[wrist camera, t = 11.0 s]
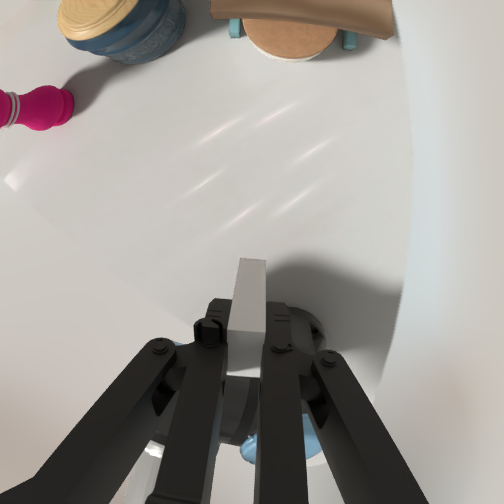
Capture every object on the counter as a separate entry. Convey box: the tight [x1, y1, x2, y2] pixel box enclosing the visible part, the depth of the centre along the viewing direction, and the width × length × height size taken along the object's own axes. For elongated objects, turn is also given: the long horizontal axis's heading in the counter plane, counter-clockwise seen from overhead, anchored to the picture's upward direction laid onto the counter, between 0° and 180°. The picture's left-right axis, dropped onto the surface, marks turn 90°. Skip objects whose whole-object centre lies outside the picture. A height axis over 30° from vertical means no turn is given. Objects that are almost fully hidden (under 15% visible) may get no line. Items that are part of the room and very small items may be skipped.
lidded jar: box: [242, 19, 338, 63], centre depth 26 cm, size 11×11×9 cm
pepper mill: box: [0, 85, 74, 131], centre depth 25 cm, size 7×7×20 cm
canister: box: [57, 0, 185, 64], centre depth 22 cm, size 13×13×18 cm
